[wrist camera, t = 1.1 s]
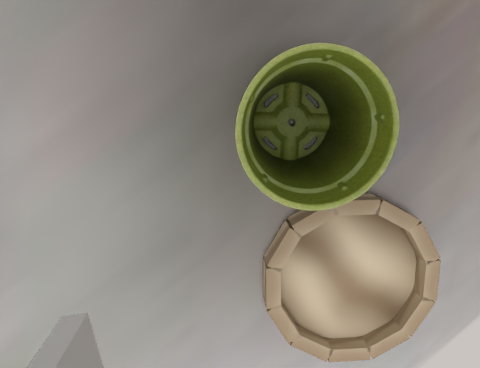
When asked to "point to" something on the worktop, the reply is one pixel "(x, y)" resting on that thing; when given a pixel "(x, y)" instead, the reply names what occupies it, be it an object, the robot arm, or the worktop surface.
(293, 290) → the round wooden tray
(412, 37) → the worktop surface
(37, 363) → the robot arm
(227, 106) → the worktop surface
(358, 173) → the plant pot
